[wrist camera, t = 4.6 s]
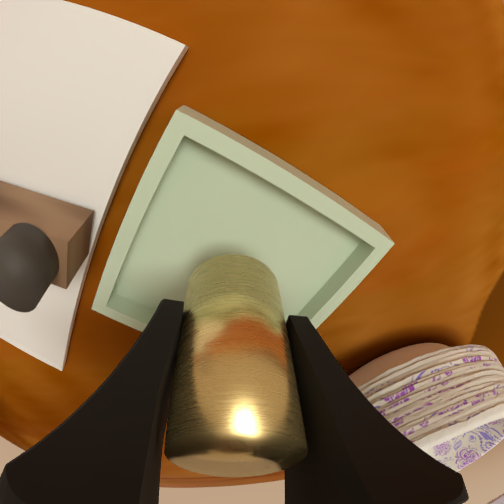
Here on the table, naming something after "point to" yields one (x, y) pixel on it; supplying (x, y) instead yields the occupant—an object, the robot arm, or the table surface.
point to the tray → (233, 226)
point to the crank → (39, 244)
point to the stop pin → (234, 375)
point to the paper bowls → (439, 398)
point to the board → (72, 128)
